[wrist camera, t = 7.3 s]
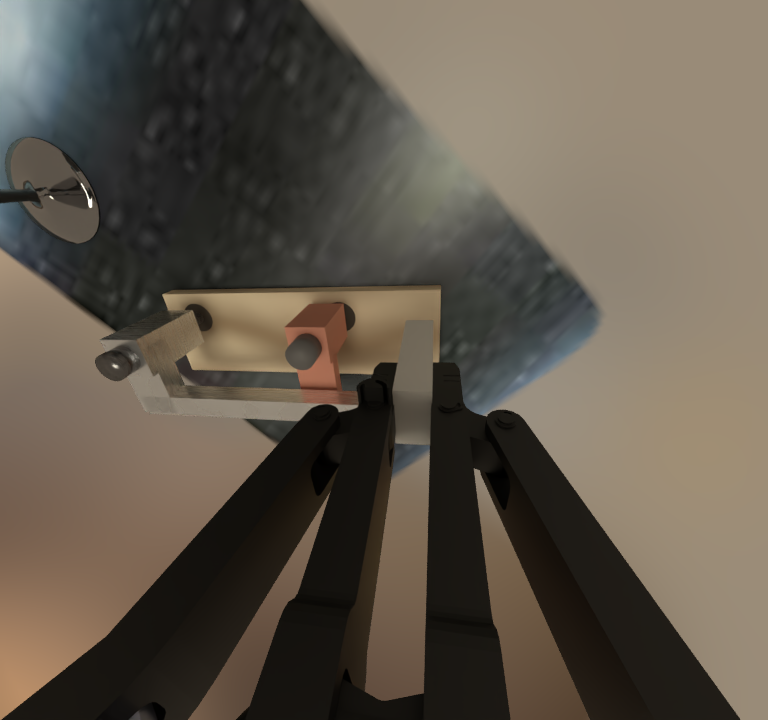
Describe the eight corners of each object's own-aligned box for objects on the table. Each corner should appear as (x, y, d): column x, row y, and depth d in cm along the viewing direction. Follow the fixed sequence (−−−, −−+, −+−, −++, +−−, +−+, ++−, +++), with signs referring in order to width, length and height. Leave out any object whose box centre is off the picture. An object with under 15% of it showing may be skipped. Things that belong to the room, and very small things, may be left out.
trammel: (178, 302, 26) (80, 348, 19) (433, 299, 23) (431, 353, 16) (203, 367, 29) (126, 428, 22) (432, 373, 26) (430, 446, 18)
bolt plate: (172, 290, 27) (162, 294, 26) (440, 285, 23) (440, 290, 22) (201, 363, 30) (192, 369, 29) (438, 368, 27) (438, 376, 26)
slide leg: (310, 302, 24) (271, 339, 18) (344, 302, 23) (314, 340, 18) (326, 390, 28) (297, 444, 22) (355, 392, 27) (334, 446, 22)
